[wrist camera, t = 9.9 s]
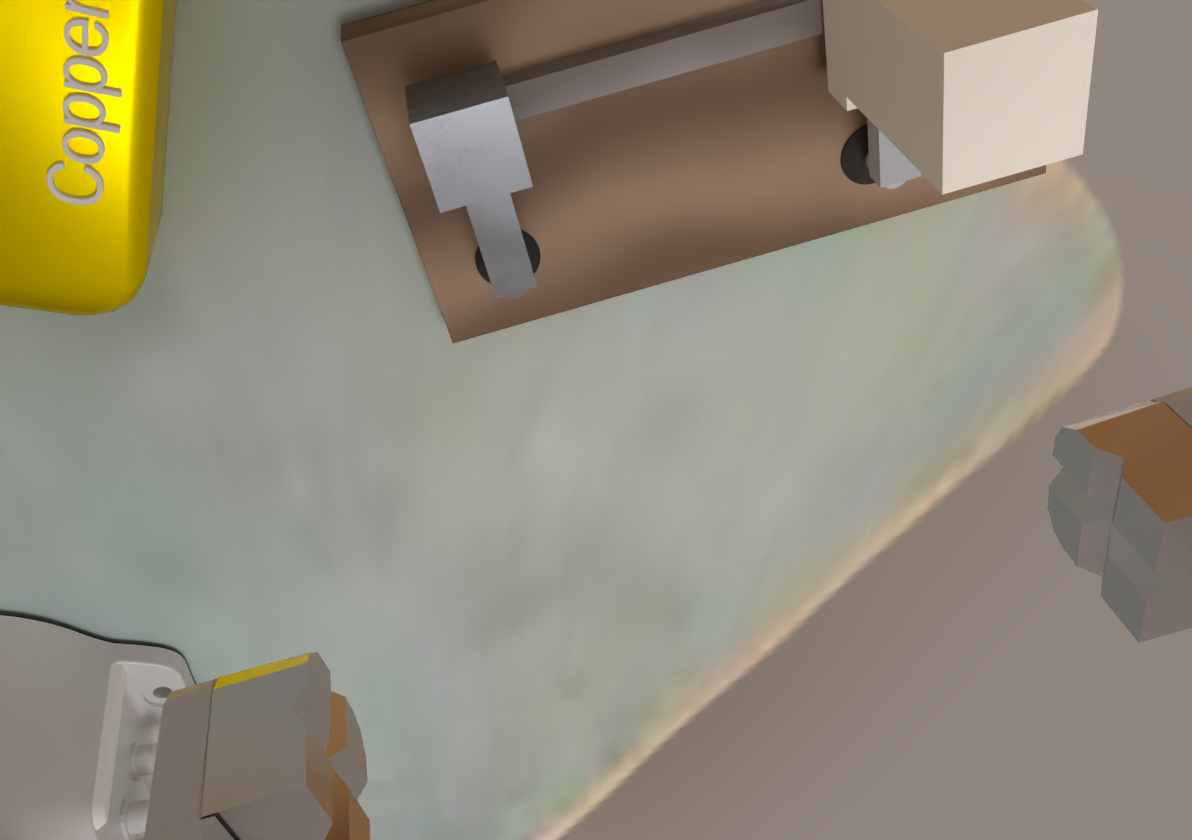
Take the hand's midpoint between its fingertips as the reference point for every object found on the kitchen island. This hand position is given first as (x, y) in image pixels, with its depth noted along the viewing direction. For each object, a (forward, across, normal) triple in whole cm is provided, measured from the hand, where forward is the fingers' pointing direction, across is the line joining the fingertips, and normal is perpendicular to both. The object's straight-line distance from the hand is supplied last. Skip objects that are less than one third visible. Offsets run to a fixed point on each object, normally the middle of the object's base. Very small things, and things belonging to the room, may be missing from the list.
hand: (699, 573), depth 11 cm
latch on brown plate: (+28, -8, +8) cm, 30 cm away
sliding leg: (+26, -13, +7) cm, 30 cm away
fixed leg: (+26, +1, +7) cm, 27 cm away
